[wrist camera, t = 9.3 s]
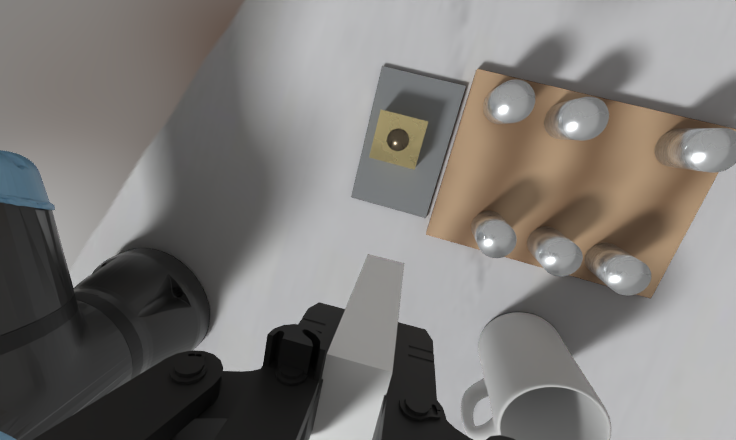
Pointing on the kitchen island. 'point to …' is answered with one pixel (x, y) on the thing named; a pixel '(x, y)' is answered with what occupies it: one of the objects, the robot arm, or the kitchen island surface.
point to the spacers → (582, 123)
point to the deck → (570, 180)
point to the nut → (398, 139)
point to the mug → (532, 385)
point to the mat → (418, 185)
